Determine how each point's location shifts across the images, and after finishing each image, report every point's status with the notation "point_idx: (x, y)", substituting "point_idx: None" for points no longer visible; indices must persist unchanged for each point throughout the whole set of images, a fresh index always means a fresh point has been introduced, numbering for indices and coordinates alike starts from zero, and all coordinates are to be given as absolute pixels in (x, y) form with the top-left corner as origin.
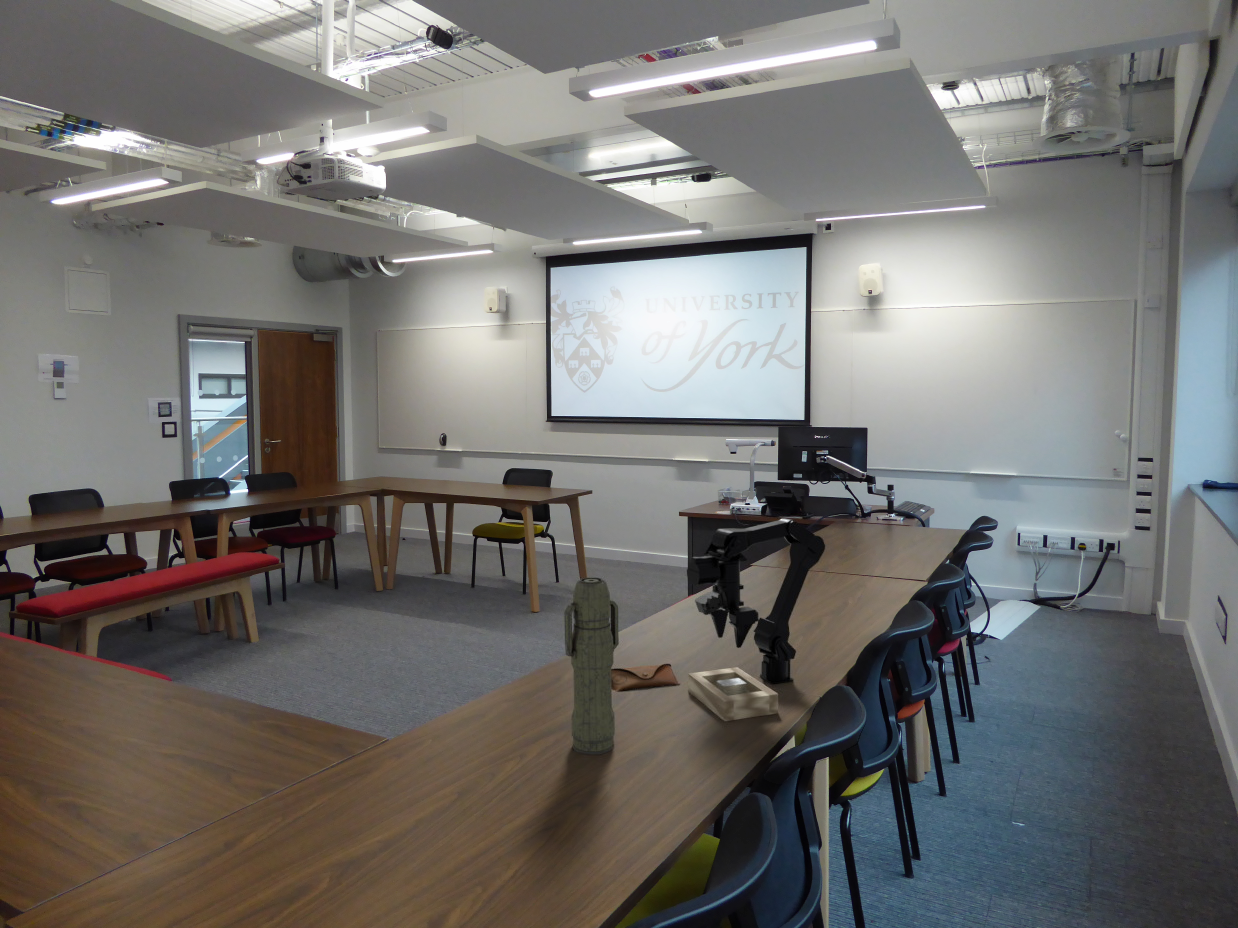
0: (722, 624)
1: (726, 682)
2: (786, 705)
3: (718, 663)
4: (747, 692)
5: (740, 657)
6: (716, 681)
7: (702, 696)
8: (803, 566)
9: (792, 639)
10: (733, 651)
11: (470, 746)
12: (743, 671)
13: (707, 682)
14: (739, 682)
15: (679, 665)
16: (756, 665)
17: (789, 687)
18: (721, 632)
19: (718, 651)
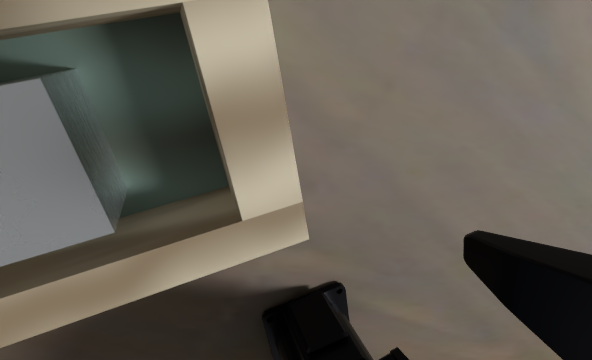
0: (586, 348)
1: (5, 144)
2: (23, 351)
3: (485, 170)
4: None
5: None
6: (39, 78)
7: None
8: None
9: (538, 357)
10: (543, 228)
11: None
12: (244, 260)
13: (29, 4)
14: (14, 227)
15: (527, 19)
16: (429, 277)
17: (228, 357)
18: (499, 281)
19: (562, 187)
